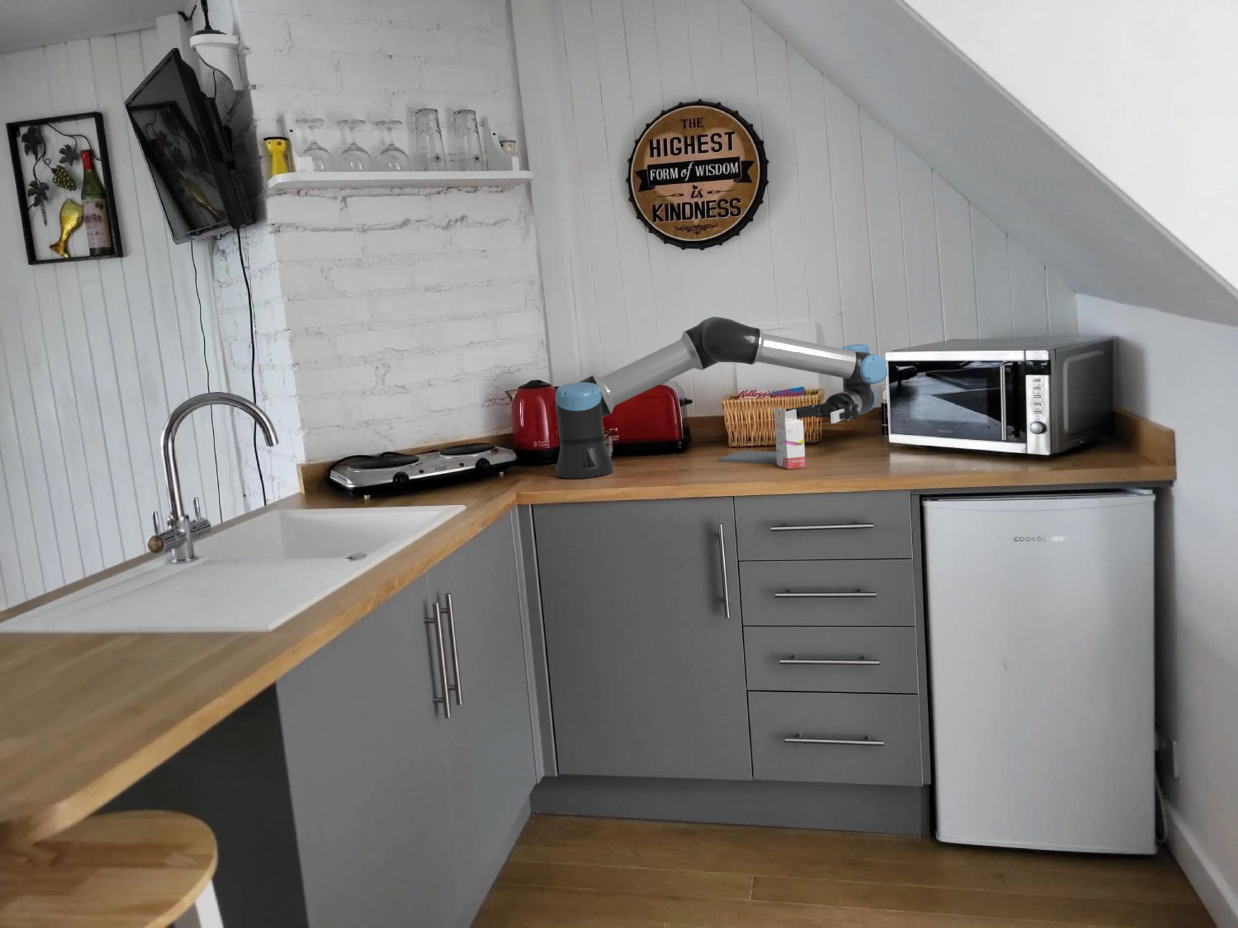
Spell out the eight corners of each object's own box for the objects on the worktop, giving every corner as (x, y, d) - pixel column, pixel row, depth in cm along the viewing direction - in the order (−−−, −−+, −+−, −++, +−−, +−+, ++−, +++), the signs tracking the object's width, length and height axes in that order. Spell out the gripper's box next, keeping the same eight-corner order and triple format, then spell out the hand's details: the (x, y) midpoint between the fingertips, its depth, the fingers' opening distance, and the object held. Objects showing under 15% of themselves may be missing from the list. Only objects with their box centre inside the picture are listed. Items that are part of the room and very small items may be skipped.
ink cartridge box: (806, 467, 261) (803, 408, 258) (787, 470, 260) (784, 410, 257) (794, 462, 269) (791, 405, 267) (776, 465, 268) (772, 407, 266)
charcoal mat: (718, 461, 280) (718, 458, 280) (741, 453, 290) (740, 450, 290) (779, 463, 270) (779, 460, 270) (800, 455, 279) (800, 452, 279)
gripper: (887, 420, 280) (854, 433, 263) (802, 420, 295) (765, 432, 278) (886, 391, 279) (852, 403, 262) (800, 393, 294) (763, 404, 277)
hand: (807, 418), depth 270 cm, fingers open, 13 cm apart
